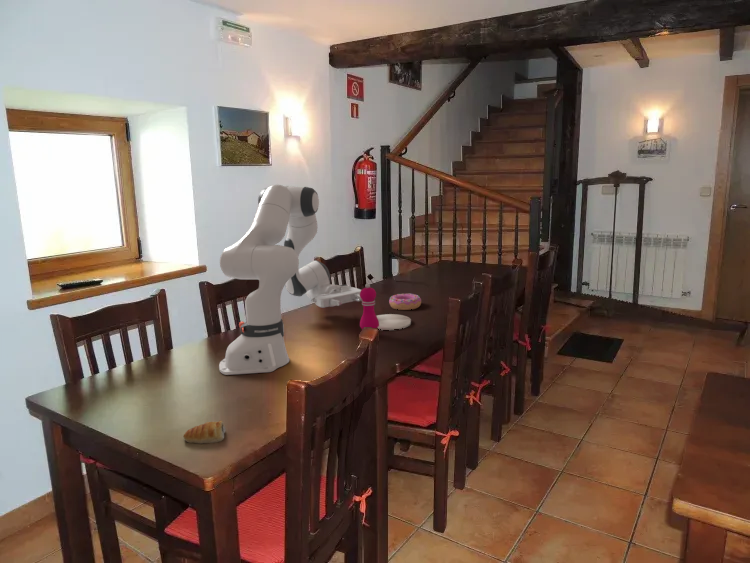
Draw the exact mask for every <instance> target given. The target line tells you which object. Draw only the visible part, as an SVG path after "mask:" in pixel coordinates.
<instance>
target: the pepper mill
mask: <svg viewBox="0 0 750 563" xmlns="http://www.w3.org/2000/svg"><path fill="white" fill-rule="evenodd" d="M360 290H361V292H360V297H361V299H362V301H361V305H362V309H363V310H362V316H361V317H360V320H359V327H360V329H361V330H362V329H363V328H364V327H372V328H378V327H379V321H378V318H377V315H376V312H375V305H376V300H375V299H376V297H377V292H376V290H375V288H373V287H371V284H370V283H366V284H365V287H364V288H362V289H360Z"/></svg>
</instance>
